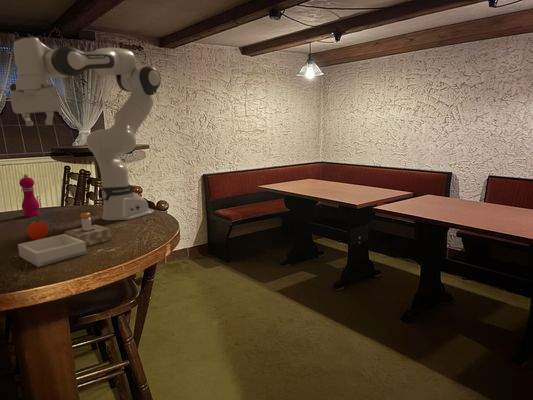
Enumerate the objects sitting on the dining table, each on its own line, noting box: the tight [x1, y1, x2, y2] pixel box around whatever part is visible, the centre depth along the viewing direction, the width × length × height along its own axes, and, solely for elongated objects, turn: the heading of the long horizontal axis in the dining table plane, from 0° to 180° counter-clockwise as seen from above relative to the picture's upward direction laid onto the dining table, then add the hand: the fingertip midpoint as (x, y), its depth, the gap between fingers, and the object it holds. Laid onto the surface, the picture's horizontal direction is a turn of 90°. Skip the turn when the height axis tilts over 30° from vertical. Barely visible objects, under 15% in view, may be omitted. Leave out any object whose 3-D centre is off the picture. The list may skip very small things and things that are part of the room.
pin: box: [80, 212, 92, 232], centre depth 133 cm, size 3×3×10 cm
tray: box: [17, 233, 88, 268], centre depth 119 cm, size 14×16×4 cm
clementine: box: [26, 220, 50, 241], centre depth 138 cm, size 8×7×7 cm
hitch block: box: [64, 224, 112, 247], centre depth 134 cm, size 11×11×4 cm
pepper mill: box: [18, 173, 40, 218], centre depth 180 cm, size 7×7×20 cm
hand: (39, 125), depth 137 cm, fingers open, 8 cm apart
